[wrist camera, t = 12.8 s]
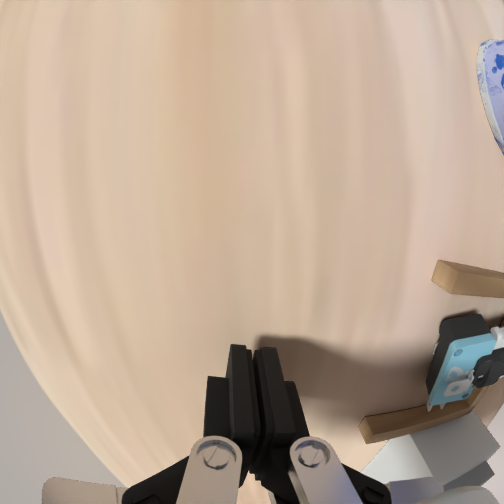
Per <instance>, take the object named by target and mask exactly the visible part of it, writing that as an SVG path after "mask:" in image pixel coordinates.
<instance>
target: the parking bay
mask: <svg viewBox="0 0 504 504" xmlns="http://www.w3.org/2000/svg"><path fill="white" fill-rule="evenodd" d="M432 281H433V282H435V283H436V284H437V285H439V286H440V287H442V288H443V289H444V290H446V291H447V292H449V293H450V294H456V295H469V296H482V297H497V298H504V273H501V272H497V271H492V270H487V269H482V268H478V267H473V266H468V265H463V264H458V263H453V262H448V261H442V260H438V262H437V265H436V268H435V271H434V274H433V277H432ZM502 327H504V318H503V320H502V323H501V325H500V327H499V328H502ZM488 387H489V386H485V387H482V388H479V389H478V388H476V387H474V389H473V390H472V393H471V394H470V396H469V397H467V398H466V399H463V400H457V401H452V402H448V403H445V405H444V407H443V409H441V408H440V404H438V405H433V406H432V408H431V410H430V412H428V409H427V405H425V406H420V407H416V408H412V409H407V410H402V411H397V412H392V413H386V414H380V415H374V416H368V417H364V419H363V420H362V422H361V423H360V425H359V426H358V427H359V429H360V432H361V434H362V436H363V438H364V441H365V443H366V444H370V443H375V442H379V441H384V440H388V439H393V438H397V437H401V436H404V435H408V434H412V433H415V432H419V431H422V430H425V429H428V428H431V427H435V426H437V425H440V424H443V423H446V422H449V421H452V420H454V419H457V418H459V417H462V416H464V415H467V414H469V413H470V412H471V411H472V410H473V408H474V407H475V405H476V404H477V403H478V401H479V400H480V398H481V397H482V396H483V394H484V393H485V391H486V390H487V388H488ZM429 405H430V404H429Z"/></svg>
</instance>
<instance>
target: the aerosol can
mask: <svg viewBox="0 0 504 504" xmlns="http://www.w3.org/2000/svg"><path fill="white" fill-rule="evenodd" d="M477 75H478V81H479V87H480V94H481V97H482V101H483V104H484V108H485V112H486V116H487V119H488V121H489V124H490V126H491V129H492V131H493V134H494V137H495V139H496V141H497V143H498V145H499V147H500V148H501V150H502V152H503V154H504V40H501V41H499V40H496V39H491V40H488V41H486V42H484V43H482V44H481V46H480V49H479V51H478V54H477Z"/></svg>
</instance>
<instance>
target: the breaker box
mask: <svg viewBox="0 0 504 504" xmlns="http://www.w3.org/2000/svg"><path fill="white" fill-rule="evenodd" d="M499 448H500V445H499V444H498V442H497V441H496V440H495V438H494V437H493V436H492V434H491V433H490V431H489V430H488V429H487V427H486V426H485V425H484V424H483V422H482V421H481V420H480V418H479V417H478V416H477V414H476V413H475V412H474V411H473V410H472V411H471V412H470V413H469V414H467V415H464V416H462V417H459V418H457V419H454V420H452V421H449V422H446V423H443V424H440V425H437V426H435V427H431V428H428V429H425V430H422V431H419V432H415V433H412V434H408V435H404V436H401V437H397V438H393V439H389V441H388V442H387V443H386V444H385V445H384V447H383V448H382V449H381V450H380V451H379V453H378V454H377V455H376V456H375V457H374V458H373V459H372V460H371V462H370V463H369V464H368V465H367V466H366V467H365V468H364V469H363V470H362V471H361V472H360V473H362V474H364V475H366V476H369V477H371V478H373V479H375V480H377V481H380V482H381V483H383V484H387V483H388V482H389V481H400V480H409V479H416V478H423V477H435V478H437V479H438V480H439V481H440V482H441V483H442V485H443V489H444V492H445V491H447V490H450V489H454V488H457V487H463V486H482V485H483V484H484V483H485V482H486V481H488V480H489V479H490V478H491V477H492V476H493V475H494V472H493V471H492V469H491V468H490V466H489V464H488V463H487V460H488V459H489V458H490V457H491V456H492V455H493V454H494V453H495V452H496V451H497V450H498V449H499Z"/></svg>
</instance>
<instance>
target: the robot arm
mask: <svg viewBox="0 0 504 504" xmlns="http://www.w3.org/2000/svg"><path fill="white" fill-rule="evenodd" d="M248 471H249V472H250V474H255V480H261V485H262V486H263V487H265V488H266V489H268V495H269V498H270V501H271V504H499V503H498V501H497V500H496V498H495V497H494V495H493V494H492V493H491V492H490V491H489V490H487V489H486V488H483V487H481V486H463V487H457V488H454V489H450V490H447V491H445V492H444V489H443V485H442V483H441V482H440V481H439V480H438V479H437V478H435V477H423V478H416V479H409V480H400V481H389V482H388V483H387V484H383V483H381V482H380V481H377V480H375V479H373V478H371V477H369V476H366V475H364V474H362V473H360V472H358V471H356V470H354V469H352V468H350V467H348V466H346V465H344V464H342V463H341V462H340V460H339V458H338V456H337V455H336V453H335V451H334V449H333V448H332V446H331V445H330V444H329V443H328V442H326V441H325V440H323V439H321V438H318V437H312V436H311V437H310V435H309V431H308V428H307V424H306V421H305V417H304V413H303V410H302V406H301V403H300V399H299V396H298V392H297V389H296V385H295V383H294V382H293V381H284V379H283V374H282V370H281V366H280V362H279V358H278V354H277V350H276V348H273V347H261V348H260V350H255V352H254V356H253V360H252V351H251V350H249V349H246V345H236V344H231V346H230V352H229V358H228V365H227V371H226V378H223V377H213V376H208V380H207V390H206V402H205V417H204V434H203V438H202V439H199V440H198V441H197V442H196V443H195V444H194V445H193V447H192V449H191V453H190V455H189V456H187V457H186V458H184V459H182V460H181V461H179V462H177V463H175V464H174V465H172V466H170V467H168V468H167V469H165V470H163V471H161V472H159V473H157V474H155V475H153V476H152V477H150V478H148V479H146V480H144V481H142V482H140V483H138V484H136V485H133V486H131V487H130V488H121V487H120V488H119V487H116V486H115V485H107V484H97V483H90V482H83V481H76V480H71V479H65V478H60V477H59V478H58V477H57V478H56V477H53V478H50V479H48V480H47V481H46V482H45V483H44V485H43V489H42V504H236V502H237V495H238V488H240V487H241V486H242V485H243V483H244V480H245V478H246V476H247V473H248Z"/></svg>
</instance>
